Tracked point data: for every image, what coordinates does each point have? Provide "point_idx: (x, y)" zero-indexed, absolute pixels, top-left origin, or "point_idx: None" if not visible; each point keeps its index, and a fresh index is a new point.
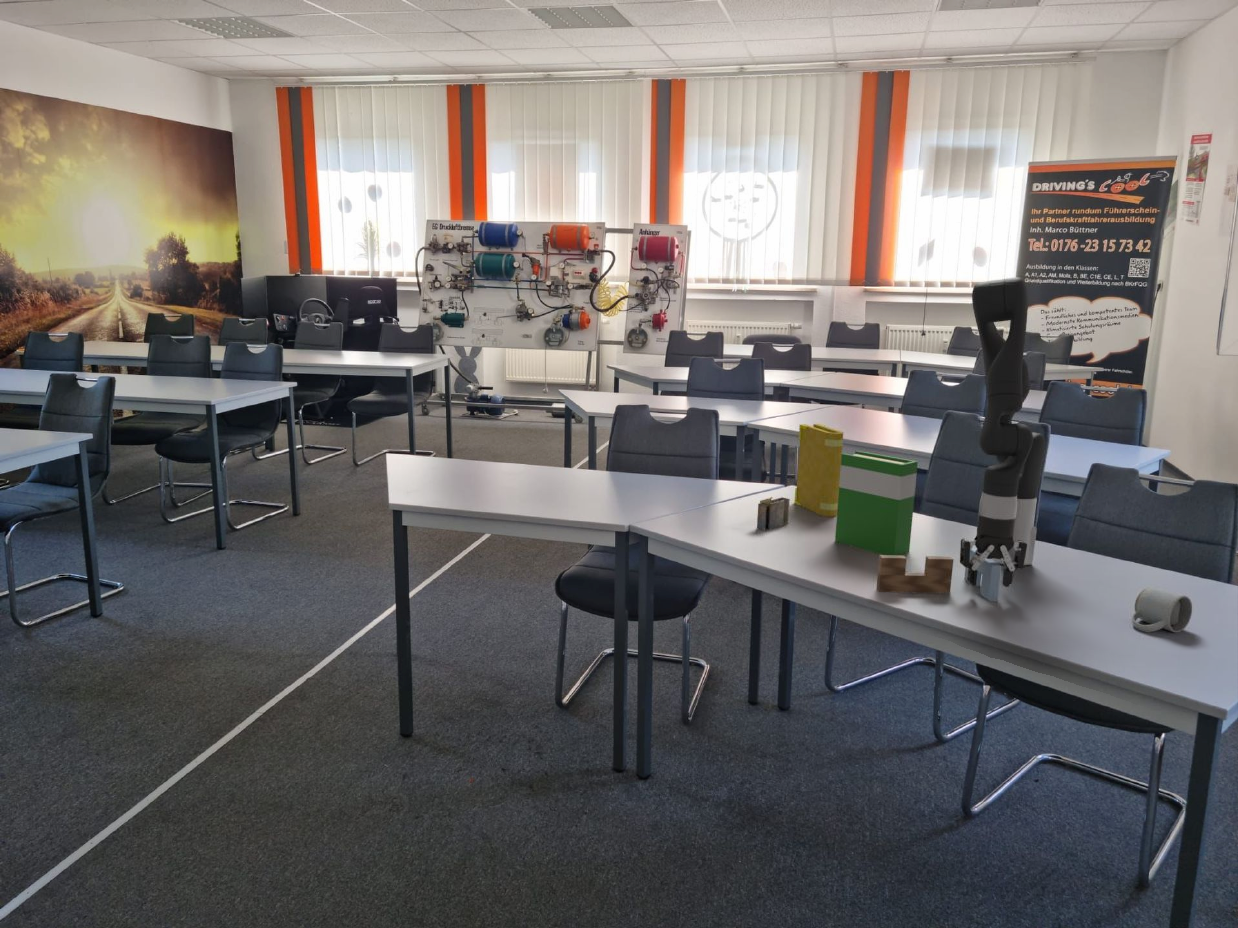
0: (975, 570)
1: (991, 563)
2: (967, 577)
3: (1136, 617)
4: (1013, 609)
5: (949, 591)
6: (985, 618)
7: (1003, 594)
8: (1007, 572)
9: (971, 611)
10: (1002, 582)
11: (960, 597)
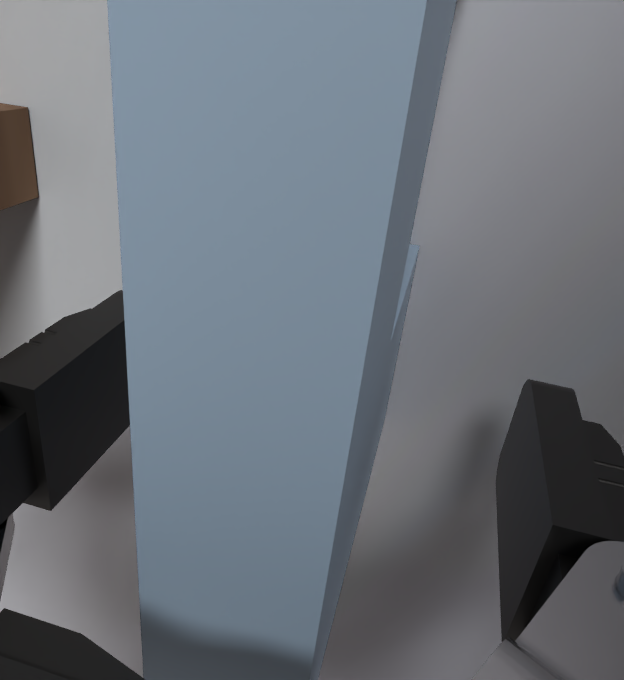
0: (28, 489)
1: (186, 657)
2: (49, 333)
3: None
4: (401, 579)
5: (21, 198)
6: (139, 622)
7: (572, 288)
8: (505, 613)
9: (95, 532)
10: (528, 387)
11: (101, 301)
